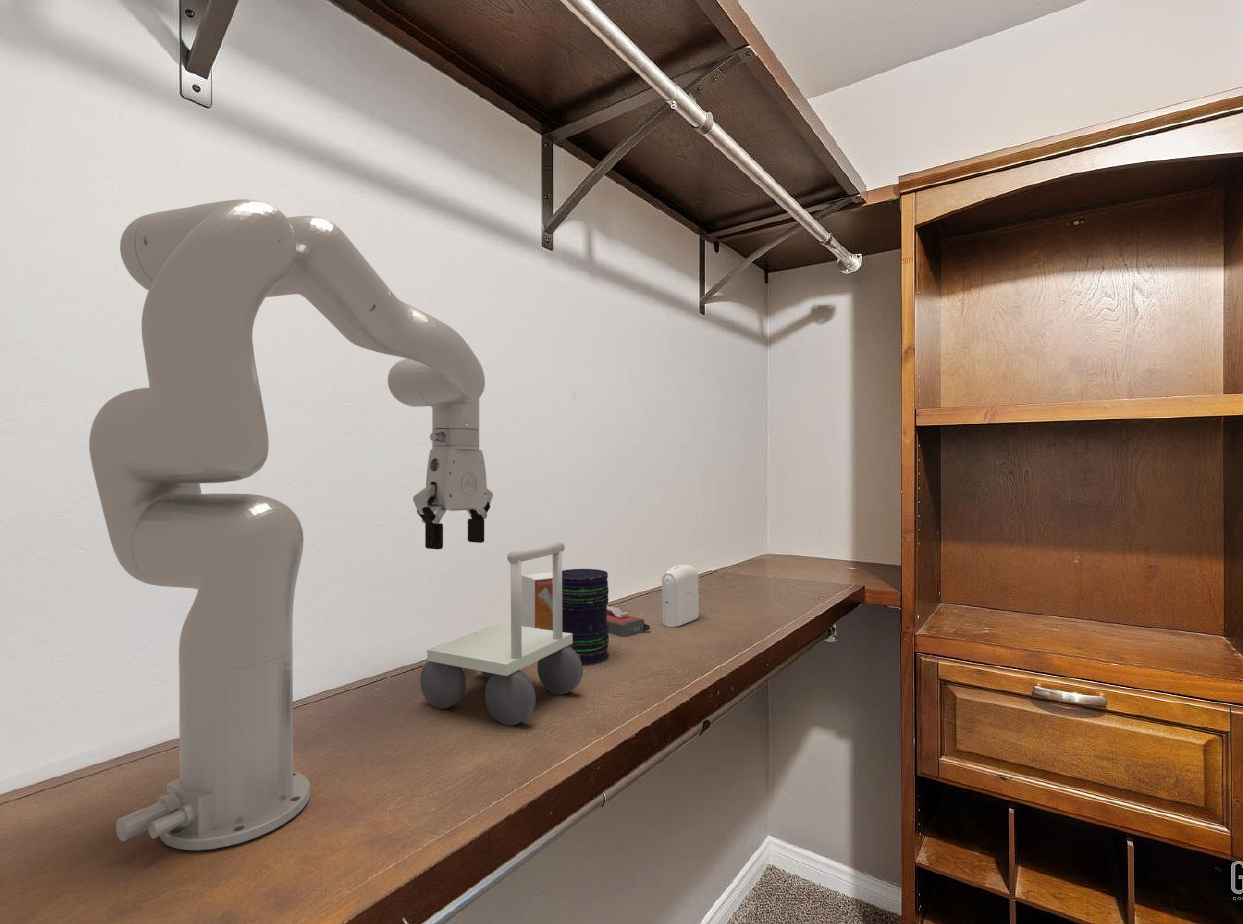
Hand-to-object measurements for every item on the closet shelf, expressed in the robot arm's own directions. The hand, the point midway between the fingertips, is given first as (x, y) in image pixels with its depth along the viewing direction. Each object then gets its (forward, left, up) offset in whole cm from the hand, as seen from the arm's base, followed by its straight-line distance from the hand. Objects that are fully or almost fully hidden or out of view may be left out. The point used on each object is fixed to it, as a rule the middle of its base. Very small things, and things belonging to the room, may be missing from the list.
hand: (455, 545), depth 99 cm
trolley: (-5, -13, -21) cm, 26 cm away
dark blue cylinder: (+17, -13, -22) cm, 31 cm away
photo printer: (+47, -20, -22) cm, 56 cm away
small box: (+22, -2, -22) cm, 31 cm away
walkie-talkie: (+38, -8, -22) cm, 45 cm away
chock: (0, 0, -22) cm, 22 cm away
